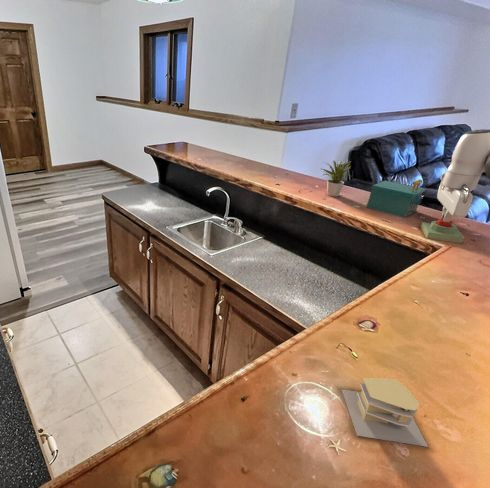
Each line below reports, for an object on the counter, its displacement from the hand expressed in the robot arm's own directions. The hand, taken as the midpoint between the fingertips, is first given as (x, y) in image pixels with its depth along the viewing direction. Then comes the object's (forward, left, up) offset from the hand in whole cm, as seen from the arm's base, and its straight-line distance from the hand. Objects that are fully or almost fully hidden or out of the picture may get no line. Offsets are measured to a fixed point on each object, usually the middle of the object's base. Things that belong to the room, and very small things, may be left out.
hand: (444, 220), depth 120 cm
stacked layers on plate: (+28, +90, -6) cm, 94 cm away
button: (0, 0, -2) cm, 2 cm away
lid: (+11, -23, +3) cm, 26 cm away
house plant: (+34, -36, -6) cm, 50 cm away
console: (0, 0, -6) cm, 6 cm away
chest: (+12, -23, -6) cm, 26 cm away
